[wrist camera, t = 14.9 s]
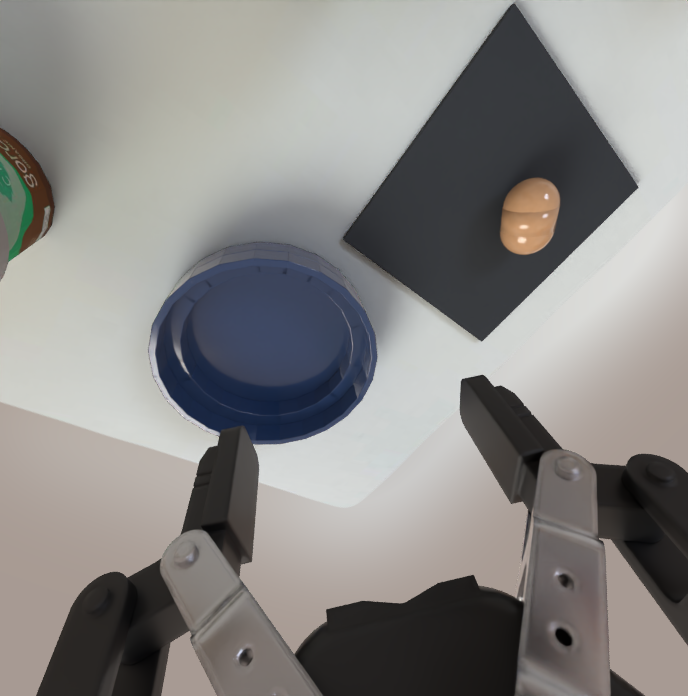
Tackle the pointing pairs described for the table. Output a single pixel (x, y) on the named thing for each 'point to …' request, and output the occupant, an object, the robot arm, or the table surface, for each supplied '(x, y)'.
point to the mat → (491, 183)
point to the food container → (21, 200)
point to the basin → (263, 344)
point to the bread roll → (529, 216)
